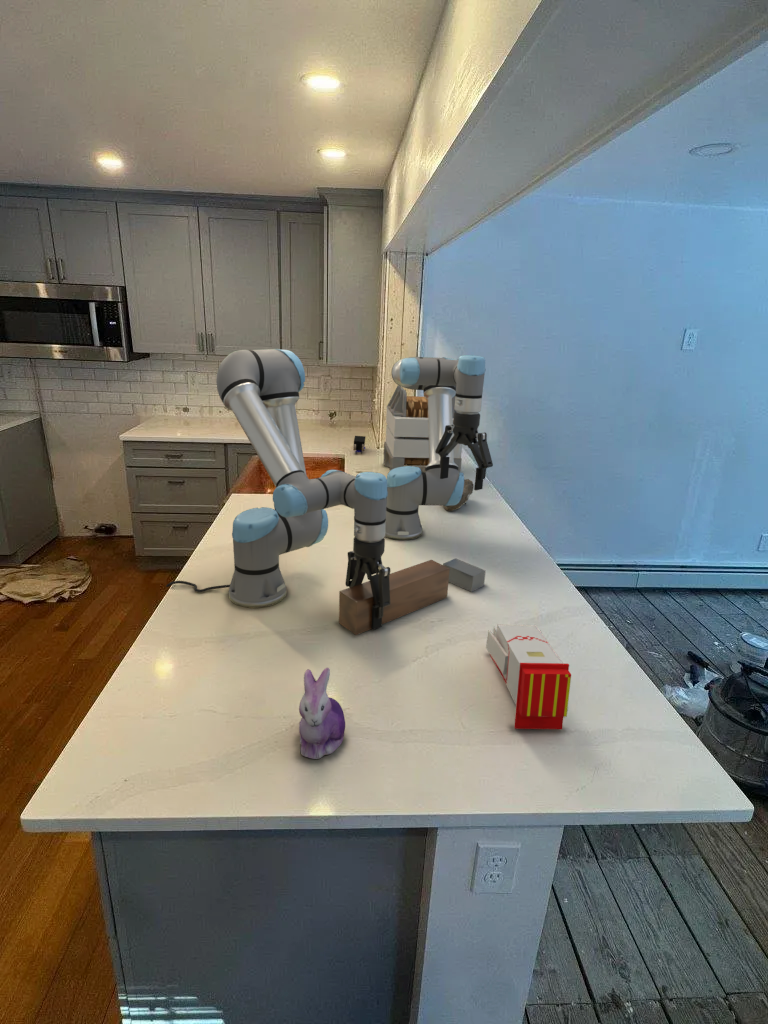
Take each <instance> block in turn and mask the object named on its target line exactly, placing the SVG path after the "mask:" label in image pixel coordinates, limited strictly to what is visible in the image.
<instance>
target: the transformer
mask: <svg viewBox="0 0 768 1024" xmlns="http://www.w3.org/2000/svg"><path fill="white" fill-rule="evenodd" d="M407 394H408V393H407V390H406V389H405V388H404V387H401V386H399V385H397V386H396V388H395V390H394V392H393V394H392V395H391V398H390V400H389V402H388V404H387V405H386V413H385V414H386V415H385V423H386V428H385V438H384V442H383V466H384V467H388V468H389V471H391V470H392V469H394V468H398V467H403V466H412V467H426V466H427V465H428V464H429V427H428V400H427V399H426V398H425V397H424V396H415V395H414V396H413V395H412V396H411V395H407ZM454 407H455V396H454V397H453V398H452V422H453V417H454V413H455V412H456V410H455V409H454ZM453 425H454V424H453ZM453 436H454V433H453ZM453 453H454V463H455V464H456V465H457V466H458V471H459V472H461V473H462V461H463V460H462V453H463V444H457V445H456V446H455V447H454V449H453Z"/></svg>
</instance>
